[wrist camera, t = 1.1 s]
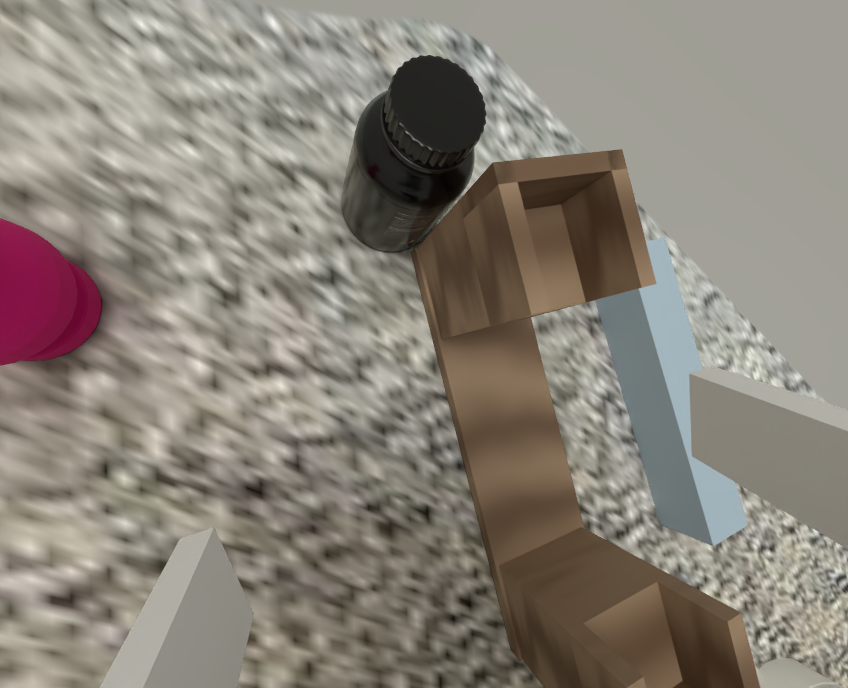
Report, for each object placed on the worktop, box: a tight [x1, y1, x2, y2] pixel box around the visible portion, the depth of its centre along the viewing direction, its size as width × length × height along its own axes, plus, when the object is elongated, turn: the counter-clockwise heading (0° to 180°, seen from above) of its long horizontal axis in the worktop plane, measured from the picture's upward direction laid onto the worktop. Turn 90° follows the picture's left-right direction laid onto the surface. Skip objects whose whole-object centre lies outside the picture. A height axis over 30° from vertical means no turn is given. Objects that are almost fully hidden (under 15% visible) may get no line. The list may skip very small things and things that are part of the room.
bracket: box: [411, 149, 760, 688], centre depth 25 cm, size 31×8×13 cm, turn 15°
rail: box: [595, 237, 748, 546], centre depth 33 cm, size 24×4×5 cm, turn 17°
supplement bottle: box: [342, 55, 486, 252], centre depth 24 cm, size 7×7×12 cm
